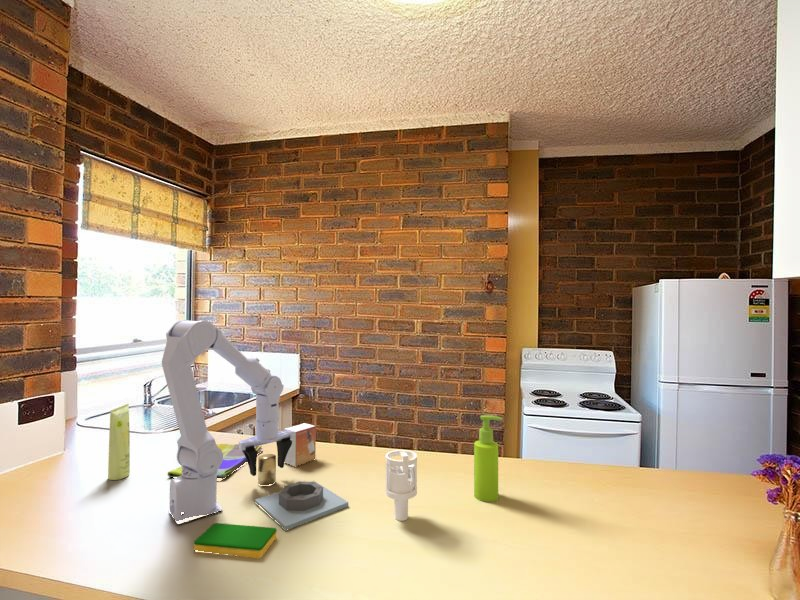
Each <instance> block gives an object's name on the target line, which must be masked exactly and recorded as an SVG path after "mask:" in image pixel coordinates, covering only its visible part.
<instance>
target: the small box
mask: <svg viewBox="0 0 800 600" xmlns="http://www.w3.org/2000/svg"><path fill="white" fill-rule="evenodd" d="M287 430H292V431H294V438H293V439H290V440H291V441H292V445H291V447H290V449H289V451H288V453H287V456H286V459H285V463H288V464H290V465H289V466H291V465H293V466H292V467H294V466H297V467H299V466H301V464H302V465H304V464H307V463H309V462H308V461H310V462H312V461H311V460H314V459H315V460H316V445H317V444H316V443H317V439H316V435H317V433H316V432H317V426H316V425H313V424H311V423H310V424H309V423H307V422H306V423H305V422H304V423H300V424H297V425H294V426H290V427H285V428H284V429H283V431H287ZM315 460H314V461H315ZM306 462H307V463H306ZM285 463H284V464H285ZM303 463H304V464H303ZM288 464H287V465H288ZM298 465H299V466H298Z"/></svg>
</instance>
